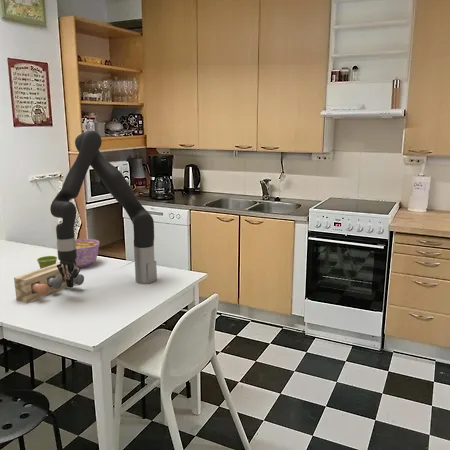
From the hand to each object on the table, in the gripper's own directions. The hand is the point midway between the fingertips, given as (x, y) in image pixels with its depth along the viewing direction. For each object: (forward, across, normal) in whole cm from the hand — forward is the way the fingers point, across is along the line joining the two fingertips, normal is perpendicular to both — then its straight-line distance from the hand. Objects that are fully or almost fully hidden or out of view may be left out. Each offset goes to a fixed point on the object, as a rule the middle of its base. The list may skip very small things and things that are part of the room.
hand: (70, 287), depth 197 cm
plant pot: (+5, +32, -14) cm, 36 cm away
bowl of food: (+5, +32, -34) cm, 47 cm away
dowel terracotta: (+2, +11, +9) cm, 14 cm away
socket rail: (+5, +15, +1) cm, 15 cm away
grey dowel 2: (+2, +8, -7) cm, 11 cm away
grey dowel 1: (+2, +13, +1) cm, 13 cm away
